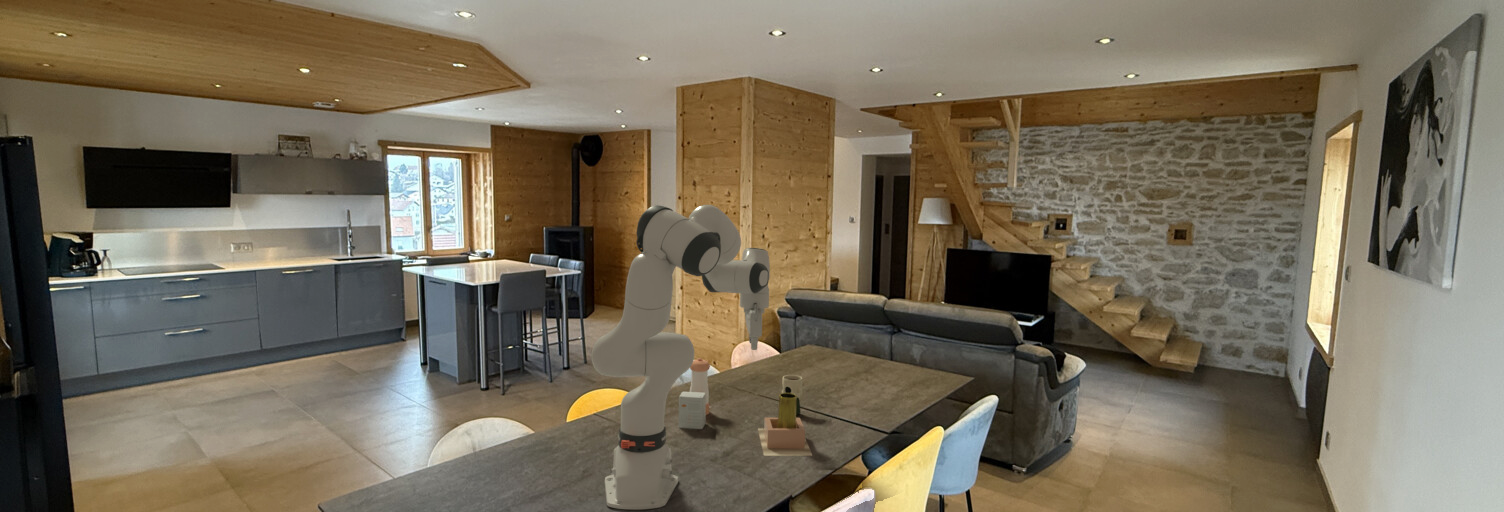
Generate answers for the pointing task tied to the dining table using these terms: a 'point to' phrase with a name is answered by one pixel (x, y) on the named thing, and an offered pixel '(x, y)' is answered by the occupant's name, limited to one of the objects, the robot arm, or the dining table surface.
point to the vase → (787, 410)
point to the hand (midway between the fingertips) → (753, 346)
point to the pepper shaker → (700, 378)
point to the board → (783, 449)
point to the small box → (692, 410)
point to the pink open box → (783, 434)
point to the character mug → (793, 387)
